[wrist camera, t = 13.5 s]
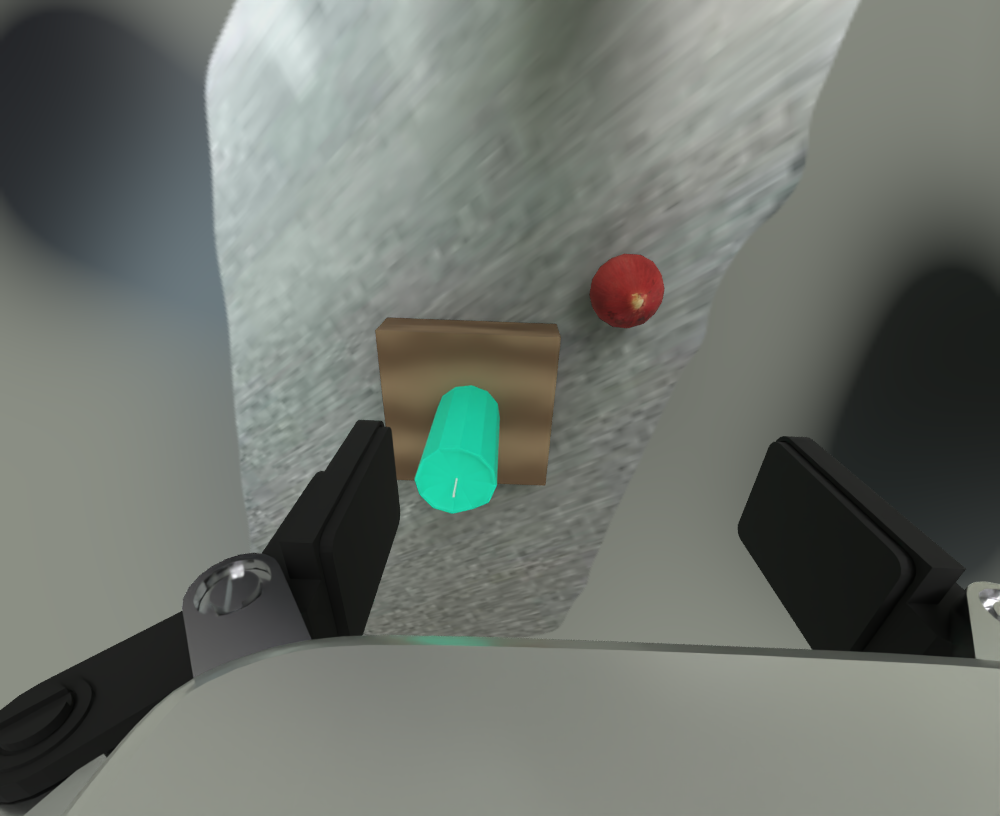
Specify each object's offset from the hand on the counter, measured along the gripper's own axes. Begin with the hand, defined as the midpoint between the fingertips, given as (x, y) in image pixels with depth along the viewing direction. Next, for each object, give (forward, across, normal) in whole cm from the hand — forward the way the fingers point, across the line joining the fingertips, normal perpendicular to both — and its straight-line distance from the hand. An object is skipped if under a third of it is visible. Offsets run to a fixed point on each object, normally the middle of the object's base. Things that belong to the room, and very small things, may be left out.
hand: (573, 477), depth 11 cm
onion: (+31, -8, +1) cm, 32 cm away
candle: (+26, +5, +13) cm, 30 cm away
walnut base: (+30, +5, +13) cm, 33 cm away
